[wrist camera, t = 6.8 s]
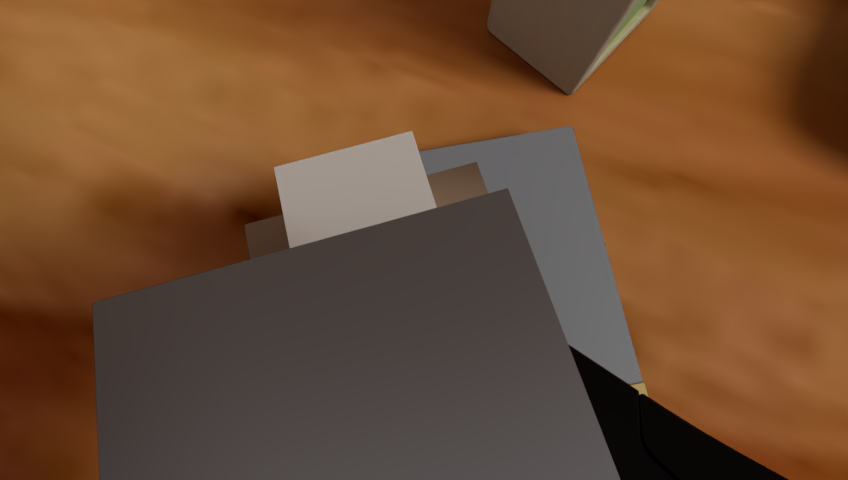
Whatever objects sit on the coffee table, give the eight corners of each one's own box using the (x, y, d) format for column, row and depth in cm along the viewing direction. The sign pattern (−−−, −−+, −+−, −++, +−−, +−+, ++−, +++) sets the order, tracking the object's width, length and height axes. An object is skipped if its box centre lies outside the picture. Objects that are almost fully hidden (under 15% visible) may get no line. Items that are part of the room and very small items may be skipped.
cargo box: (448, 291, 15) (454, 261, 11) (336, 324, 14) (300, 304, 10) (417, 190, 16) (412, 131, 12) (313, 218, 15) (273, 167, 12)
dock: (625, 409, 21) (654, 421, 18) (363, 462, 20) (354, 481, 17) (556, 147, 23) (573, 124, 21) (324, 186, 23) (312, 168, 20)
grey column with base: (560, 430, 15) (1193, 696, 2) (311, 509, 14) (-493, 1382, 2) (472, 183, 18) (558, -250, 6) (264, 240, 17) (-163, -101, 5)
